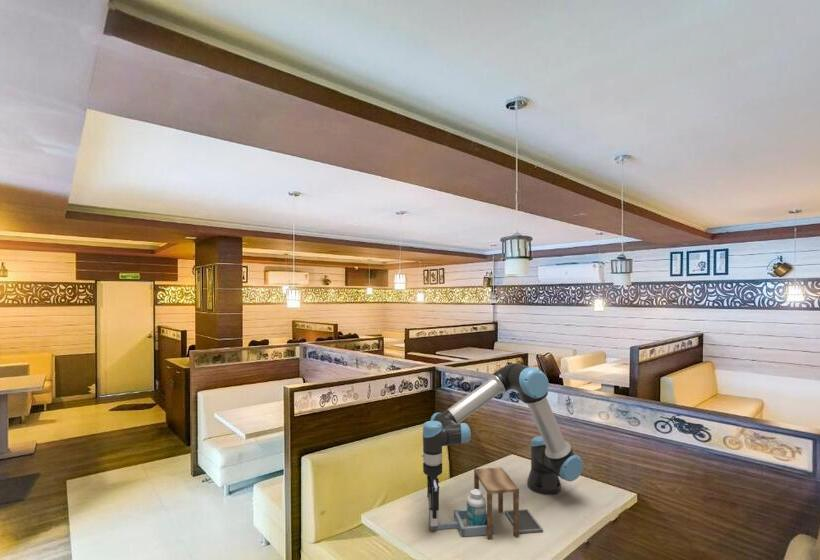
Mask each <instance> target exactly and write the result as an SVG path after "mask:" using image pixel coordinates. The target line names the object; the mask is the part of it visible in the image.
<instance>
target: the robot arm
mask: <svg viewBox="0 0 820 560" xmlns="http://www.w3.org/2000/svg"><path fill="white" fill-rule="evenodd" d="M549 384H550V383H549V379H548V377H547V375H546V373H544V372H543V371H542V370H540V369H538V368H536V367H531V366H528V365H524V364H522V363H516V362H515V363H510V364H507V365H505V366H502V367H501V368H499V369H498V370H496V371H495V372H493V373H492V374H491V375H490V377H489V379H487V380H486V381H485V382H483V383H482V384H481V385H479V386H478V387H476V388H475V389H474V390H473V391H471V392H469V393H468V394H467V395H466V396H464V397H463V398H461V399H460V400H459V401H457V402H456V403H455V404H453V405H452V406H450V407H449V408H448V409H446V410H445V411H443V412H435V413H433V414H432V415H431V418H430V419H429V421H425V422H424V423H423V426H422V454H421V457H422V461H423V463H422V471H423V474H424V475H426V480H427V481H426V484H427V487H426V488H427V489H426V491H427V492H426V493H427V502H428V505H429V494H430V493H431V508H429V507H428V511H429V510H430V518H431V526H438V523H439V511H440V486H439V482H440V481H439V476H440V475H442V473H443V447H447V446H454V445H462V444H465V443H469V442H470V441H471V436H472V433H471V429H470V426H469V425H468V423H466V422H463V421H464V420H465V419H467V418H468V417H470V416H471V415H472V414H474V413H475V412H476V411H478V410H479V409H480V408H482V407H483V406H484V405H486V404H487V403H489V402H490V401H491V400H493V399H494V398H495V397H497V396H498V395H500V394H505V393H506V392H508V391H510V390H514V391H516V392H518V395H519V397H520V399H521V401H522V402H523V403H524V404H526V405H527V406H528V409H529V412H530V414H531V416H532V418H533V420H534V423H535V425H536V428H537V430H538V432H539V434H540V435H539V436H535V437H532V439H531V440H530V441H531V442H530V470H529V474H528V477H527V479H526V480H527V484H526V485H527V487H528V489H529V490H530V491H533V492H535V493H537V494H542V495H556V494H559V493H560V492H561V490H562V484H561V481H560V479H562V480H564V481H566V482H574V481H576V480H577V479H578V478H579V477H580V476H581V474H582V472H583V468H584V463H583V459H582V458H581V457H580V456H579V455H577V454H575V452H574V450H573V448H572V445H571V443H570V442H569V441H566V440H565V438H564V435H563V433H562V431H561V428H560V427H559V423H558V422H557V419H556V417H555V415H554V412H553V410H552V408H551V406H550V403H549V400H548V399H547V396H548V395H549V392H548V391H549V386H550V385H549Z"/></svg>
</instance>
